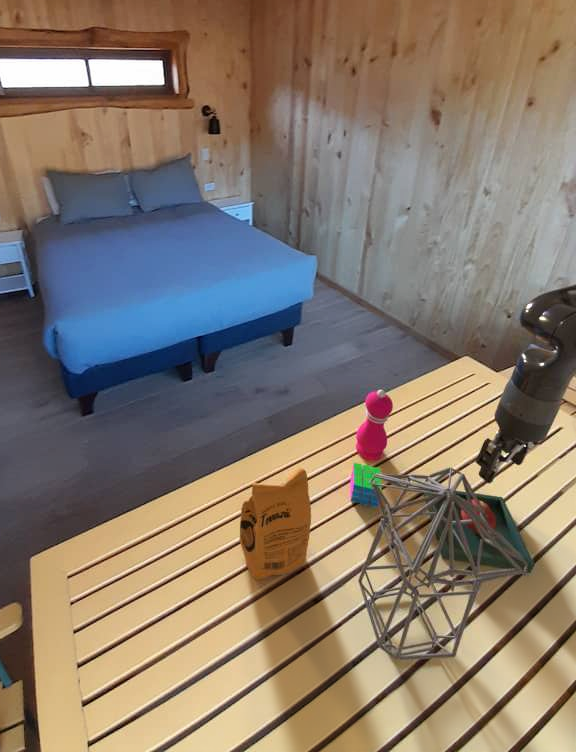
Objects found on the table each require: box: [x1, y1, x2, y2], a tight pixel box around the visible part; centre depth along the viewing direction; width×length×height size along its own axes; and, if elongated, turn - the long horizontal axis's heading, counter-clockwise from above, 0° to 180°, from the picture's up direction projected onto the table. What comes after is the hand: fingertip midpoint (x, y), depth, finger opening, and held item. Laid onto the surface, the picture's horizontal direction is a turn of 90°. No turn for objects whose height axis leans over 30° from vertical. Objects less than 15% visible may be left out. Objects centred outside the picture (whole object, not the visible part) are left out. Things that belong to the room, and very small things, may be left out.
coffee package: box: [239, 467, 312, 581], centre depth 76 cm, size 10×12×22 cm
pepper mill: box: [355, 389, 394, 462], centre depth 97 cm, size 7×7×20 cm
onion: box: [461, 500, 495, 534], centre depth 81 cm, size 6×6×8 cm
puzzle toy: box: [350, 462, 383, 509], centre depth 90 cm, size 6×6×6 cm
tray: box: [422, 489, 536, 574], centre depth 83 cm, size 16×14×3 cm
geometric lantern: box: [357, 466, 528, 662], centre depth 62 cm, size 16×16×35 cm
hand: (499, 469), depth 75 cm, fingers open, 8 cm apart
